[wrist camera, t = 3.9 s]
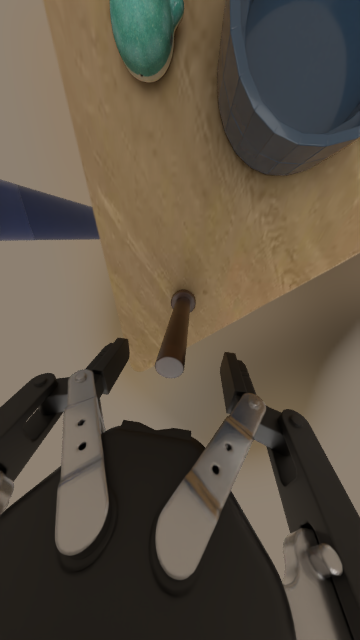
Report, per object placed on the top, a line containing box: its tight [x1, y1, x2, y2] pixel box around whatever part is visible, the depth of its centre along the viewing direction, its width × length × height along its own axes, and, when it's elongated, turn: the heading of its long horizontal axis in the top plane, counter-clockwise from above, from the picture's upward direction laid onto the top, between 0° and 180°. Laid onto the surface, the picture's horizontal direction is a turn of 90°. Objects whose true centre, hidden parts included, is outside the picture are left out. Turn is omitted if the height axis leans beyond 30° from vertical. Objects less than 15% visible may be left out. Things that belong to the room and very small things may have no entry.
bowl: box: [217, 0, 360, 176], centre depth 10 cm, size 14×14×6 cm
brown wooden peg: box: [155, 290, 195, 378], centre depth 18 cm, size 4×4×14 cm
